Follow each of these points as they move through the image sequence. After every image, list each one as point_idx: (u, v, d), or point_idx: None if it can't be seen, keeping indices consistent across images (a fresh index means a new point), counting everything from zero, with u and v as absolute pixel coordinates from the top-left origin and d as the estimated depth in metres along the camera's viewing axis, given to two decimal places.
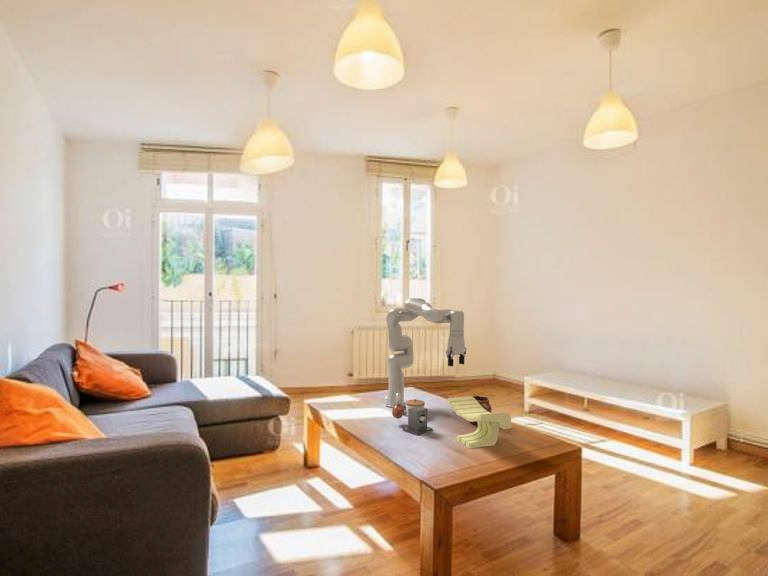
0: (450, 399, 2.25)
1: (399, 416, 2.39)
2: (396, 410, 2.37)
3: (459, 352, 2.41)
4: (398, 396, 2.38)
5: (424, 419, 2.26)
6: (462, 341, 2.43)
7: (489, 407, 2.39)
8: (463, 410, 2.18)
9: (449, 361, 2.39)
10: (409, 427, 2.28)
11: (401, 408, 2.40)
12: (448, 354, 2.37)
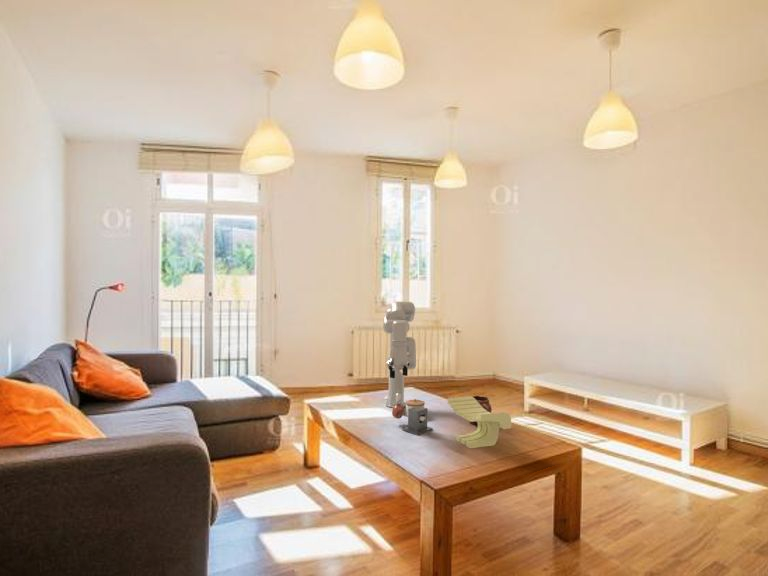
0: (450, 399, 2.25)
1: (399, 416, 2.39)
2: (396, 410, 2.37)
3: (401, 363, 2.37)
4: (398, 396, 2.38)
5: (424, 419, 2.26)
6: (405, 352, 2.39)
7: (489, 407, 2.39)
8: (463, 410, 2.18)
9: (390, 373, 2.35)
10: (409, 427, 2.28)
11: (401, 408, 2.40)
12: (389, 366, 2.34)
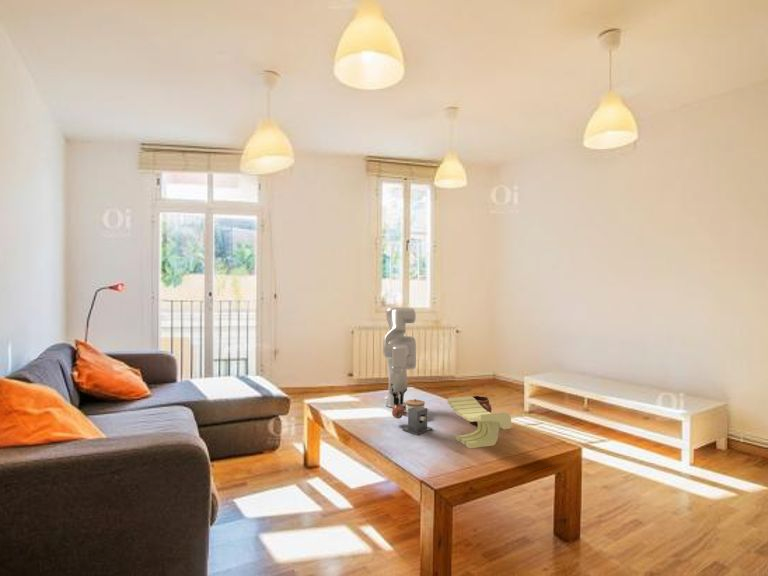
0: (450, 399, 2.25)
1: (399, 416, 2.39)
2: (396, 410, 2.37)
3: (401, 389, 2.38)
4: (398, 396, 2.38)
5: (424, 419, 2.26)
6: (404, 377, 2.39)
7: (489, 407, 2.39)
8: (463, 410, 2.18)
9: (394, 400, 2.38)
10: (409, 427, 2.28)
11: (401, 408, 2.40)
12: (393, 393, 2.36)
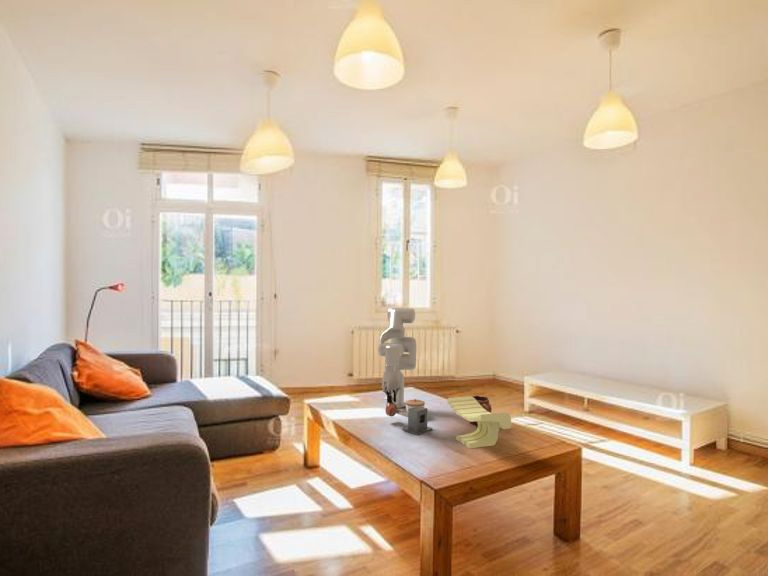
0: (450, 399, 2.25)
1: (392, 414, 2.43)
2: (389, 408, 2.41)
3: (394, 387, 2.41)
4: (391, 394, 2.42)
5: None
6: (397, 376, 2.43)
7: (489, 407, 2.39)
8: (463, 410, 2.18)
9: (388, 398, 2.41)
10: (409, 427, 2.28)
11: (394, 406, 2.44)
12: None
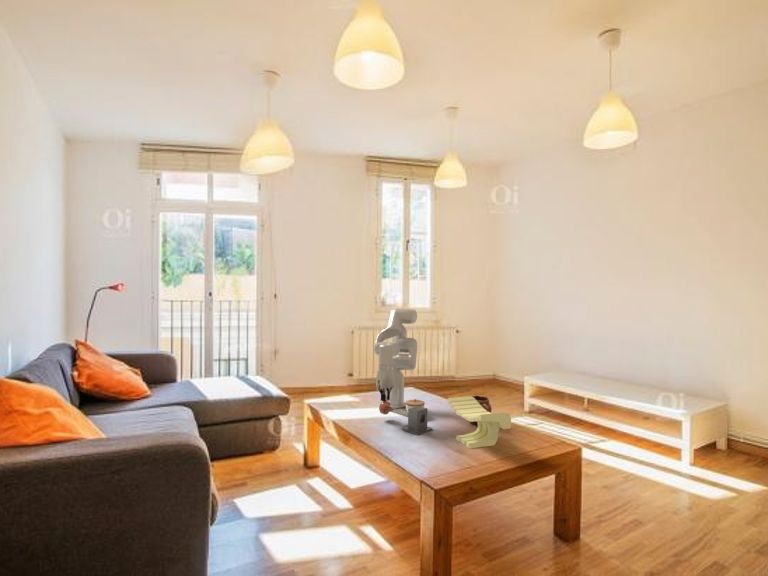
0: (450, 399, 2.25)
1: (386, 412, 2.46)
2: (383, 406, 2.44)
3: (388, 385, 2.45)
4: (385, 392, 2.45)
5: None
6: (391, 374, 2.46)
7: (489, 407, 2.39)
8: (463, 410, 2.18)
9: (381, 396, 2.45)
10: (409, 427, 2.28)
11: (388, 404, 2.47)
12: (380, 389, 2.43)
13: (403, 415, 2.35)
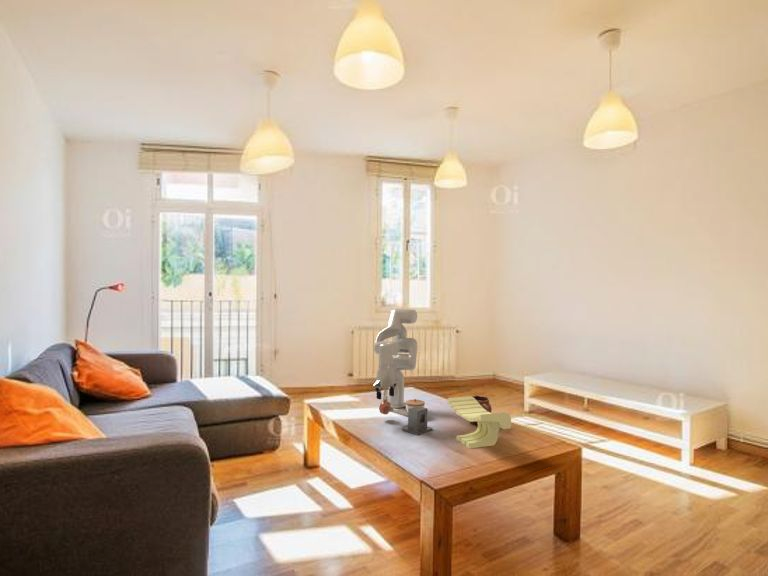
0: (450, 399, 2.25)
1: (386, 412, 2.46)
2: (383, 406, 2.44)
3: (388, 385, 2.45)
4: (385, 392, 2.45)
5: None
6: (391, 374, 2.46)
7: (489, 407, 2.39)
8: (463, 410, 2.18)
9: (377, 394, 2.43)
10: (409, 427, 2.28)
11: (388, 404, 2.47)
12: (376, 387, 2.41)
13: (403, 415, 2.36)
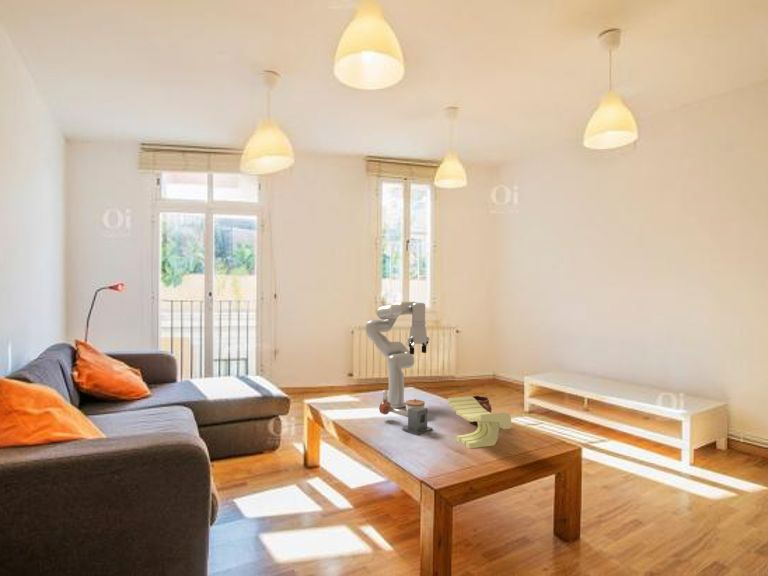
0: (450, 399, 2.25)
1: (386, 412, 2.46)
2: (383, 406, 2.44)
3: (420, 341, 2.58)
4: (385, 392, 2.45)
5: None
6: (423, 331, 2.60)
7: (489, 407, 2.39)
8: (463, 410, 2.18)
9: (410, 349, 2.57)
10: (409, 427, 2.28)
11: (388, 404, 2.47)
12: (409, 343, 2.55)
13: (403, 415, 2.36)
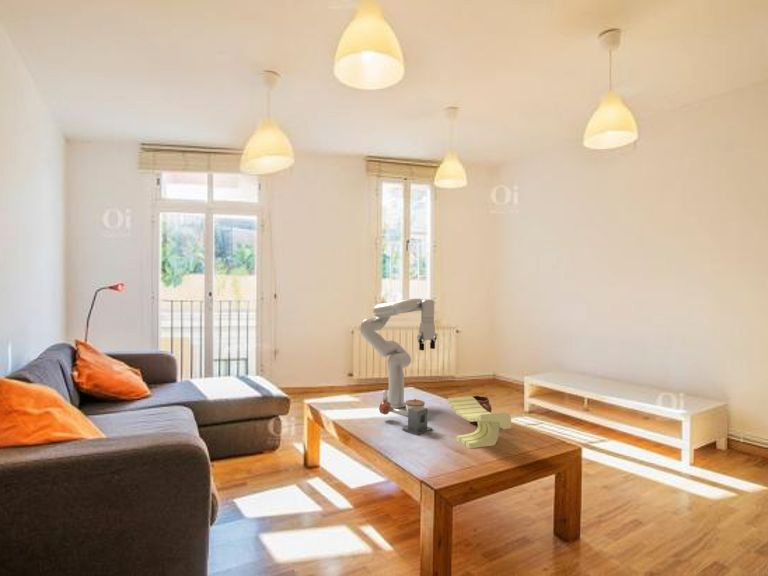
0: (450, 399, 2.25)
1: (386, 412, 2.46)
2: (383, 406, 2.44)
3: (429, 337, 2.63)
4: (385, 392, 2.45)
5: None
6: (432, 327, 2.64)
7: (489, 407, 2.39)
8: (463, 410, 2.18)
9: (420, 345, 2.60)
10: (409, 427, 2.28)
11: (388, 404, 2.47)
12: (419, 339, 2.59)
13: (403, 415, 2.36)
